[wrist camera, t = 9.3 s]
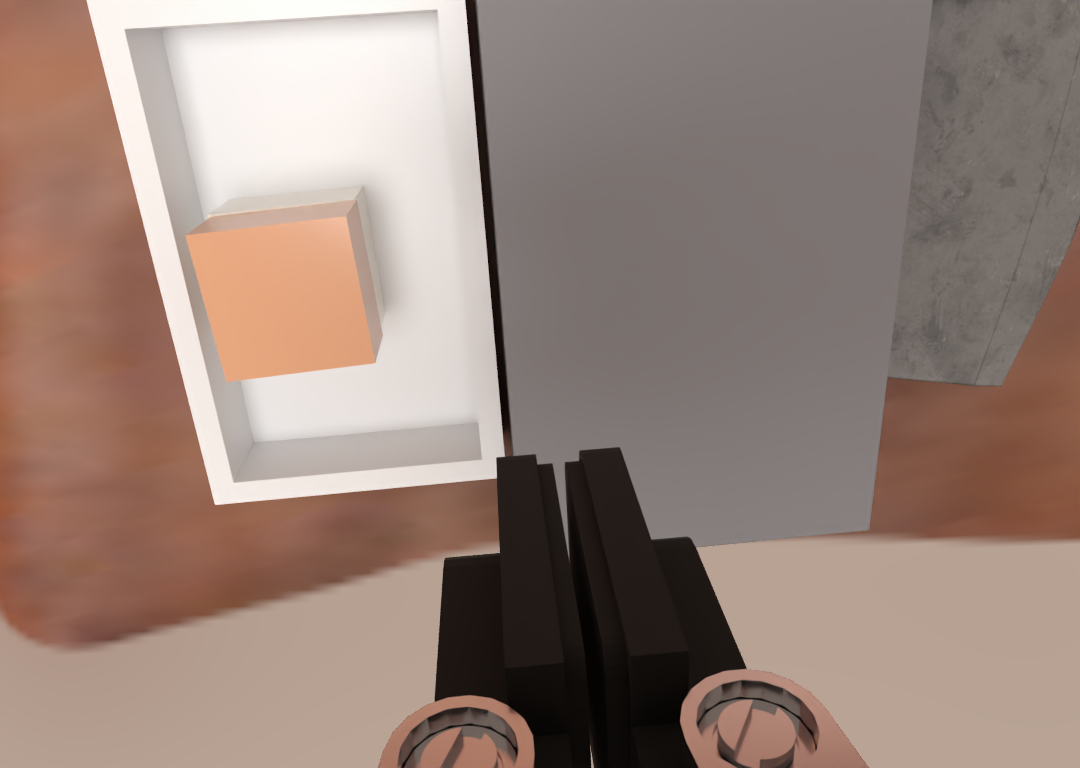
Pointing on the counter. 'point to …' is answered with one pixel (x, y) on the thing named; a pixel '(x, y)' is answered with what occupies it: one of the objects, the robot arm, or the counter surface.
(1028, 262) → the cleaver
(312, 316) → the terracotta tile
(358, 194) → the cream tile
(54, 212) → the counter surface
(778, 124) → the block
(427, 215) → the box
